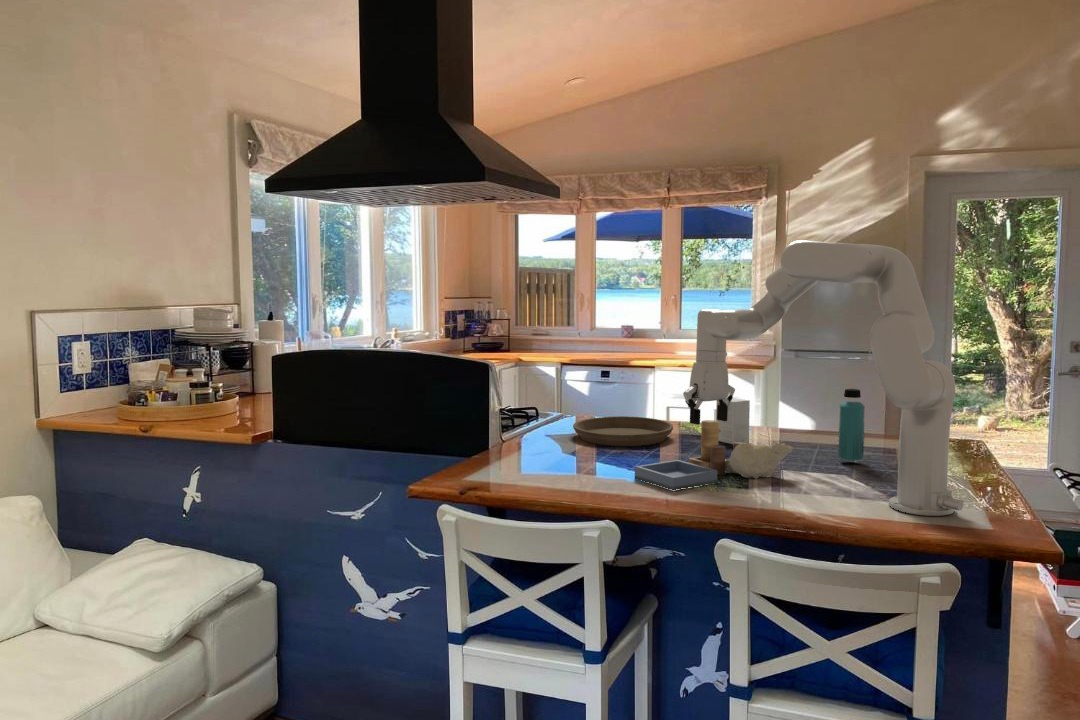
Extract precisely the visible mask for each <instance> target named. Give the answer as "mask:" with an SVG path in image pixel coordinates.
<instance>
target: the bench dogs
mask: <svg viewBox="0 0 1080 720" xmlns="http://www.w3.org/2000/svg"><path fill="white" fill-rule="evenodd" d="M742 443H745V442H734V443H733V444H732V446H733V447H732V451H733V450H734V449H735V447H736V446H737V445H739V444H742ZM725 459H726V446H725V445H719V444H718V445H713V446H711V455H710V469H714V470H718V473H717V475H723V476H725V475H724V474H726V471H725Z"/></svg>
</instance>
